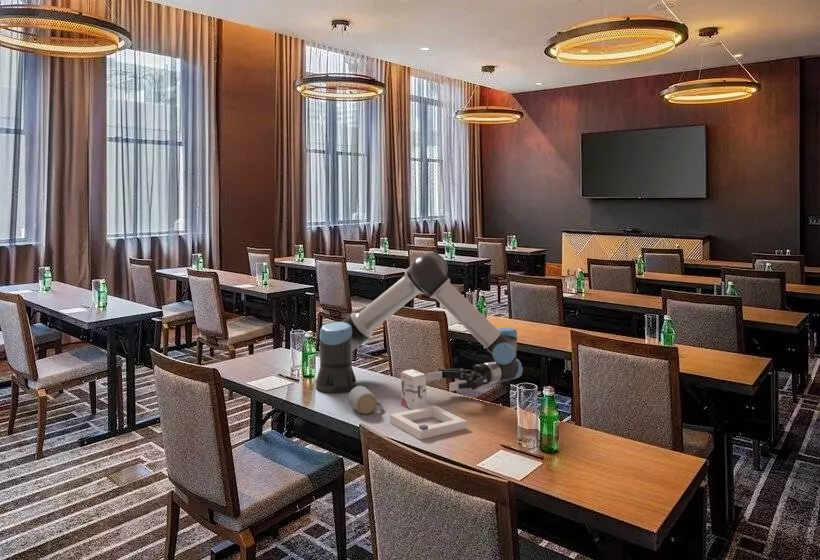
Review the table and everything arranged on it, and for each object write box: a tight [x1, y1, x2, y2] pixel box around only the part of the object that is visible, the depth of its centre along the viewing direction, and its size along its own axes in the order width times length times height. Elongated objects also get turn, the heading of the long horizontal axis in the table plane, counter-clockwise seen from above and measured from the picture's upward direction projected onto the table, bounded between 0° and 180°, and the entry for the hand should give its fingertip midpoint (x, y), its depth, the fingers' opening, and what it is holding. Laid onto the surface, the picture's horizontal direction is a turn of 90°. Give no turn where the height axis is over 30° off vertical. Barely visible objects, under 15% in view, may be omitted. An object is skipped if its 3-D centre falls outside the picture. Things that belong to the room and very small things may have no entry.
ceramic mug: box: [347, 385, 384, 415], centre depth 203 cm, size 11×8×8 cm
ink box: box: [400, 368, 427, 410], centre depth 207 cm, size 9×5×12 cm, turn 34°
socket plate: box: [389, 405, 468, 440], centre depth 191 cm, size 17×17×3 cm
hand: (437, 382), depth 212 cm, fingers open, 13 cm apart
